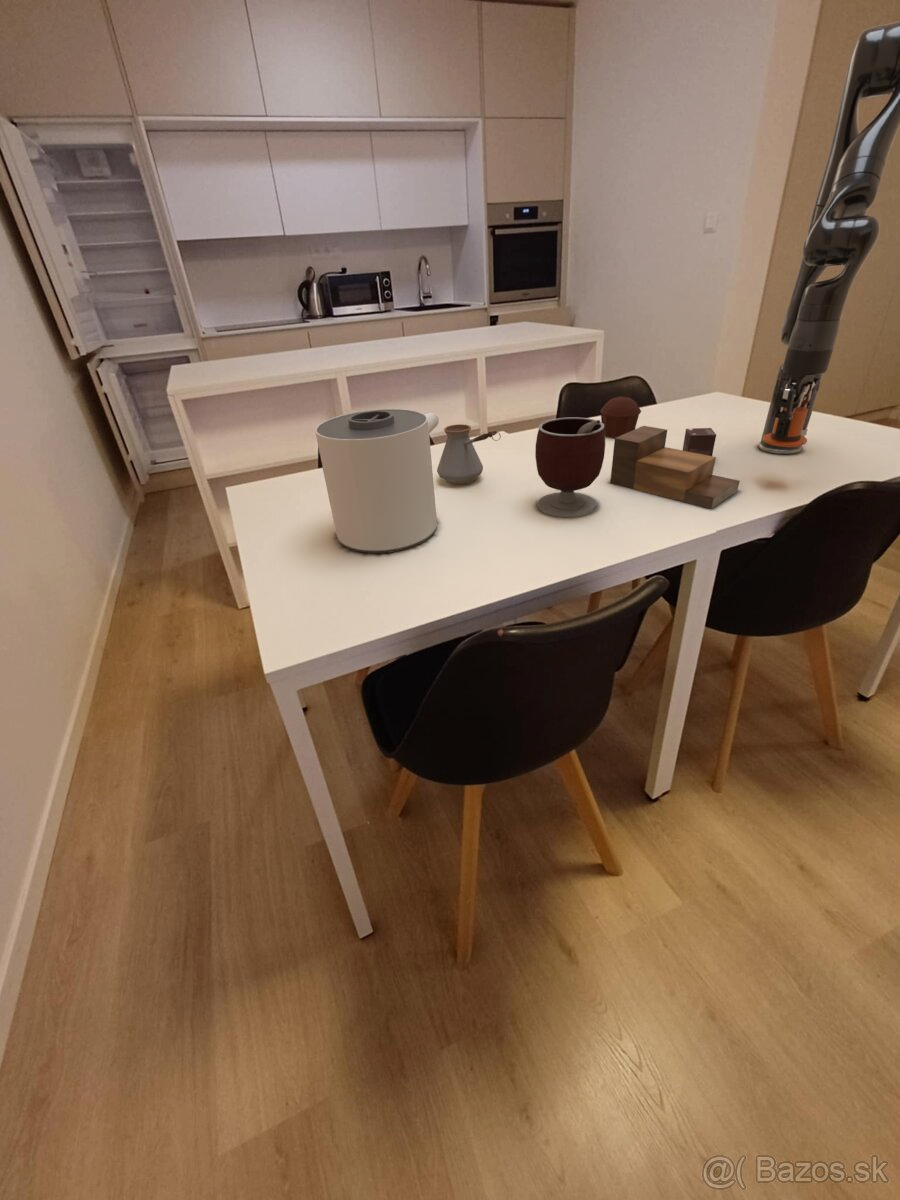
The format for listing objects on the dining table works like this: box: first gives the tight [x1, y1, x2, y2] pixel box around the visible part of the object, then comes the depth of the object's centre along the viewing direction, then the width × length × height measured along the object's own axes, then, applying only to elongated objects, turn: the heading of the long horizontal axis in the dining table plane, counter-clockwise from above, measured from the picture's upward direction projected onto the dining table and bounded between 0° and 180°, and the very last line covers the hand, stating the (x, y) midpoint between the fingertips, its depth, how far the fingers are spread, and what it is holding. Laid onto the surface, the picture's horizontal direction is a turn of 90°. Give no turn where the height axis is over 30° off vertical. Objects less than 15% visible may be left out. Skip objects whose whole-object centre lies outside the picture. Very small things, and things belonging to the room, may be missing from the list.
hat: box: [763, 406, 808, 447], centre depth 109 cm, size 8×8×7 cm
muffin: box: [599, 396, 642, 439], centre depth 152 cm, size 12×11×10 cm
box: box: [681, 427, 717, 456], centre depth 129 cm, size 6×6×7 cm
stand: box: [609, 425, 741, 510], centre depth 116 cm, size 12×24×10 cm, turn 42°
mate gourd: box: [534, 416, 606, 518], centre depth 108 cm, size 16×14×20 cm
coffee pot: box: [436, 423, 502, 486], centre depth 124 cm, size 21×12×15 cm, turn 33°
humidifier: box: [314, 408, 440, 554], centre depth 104 cm, size 22×21×23 cm
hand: (786, 433), depth 110 cm, fingers closed on hat, 5 cm apart
